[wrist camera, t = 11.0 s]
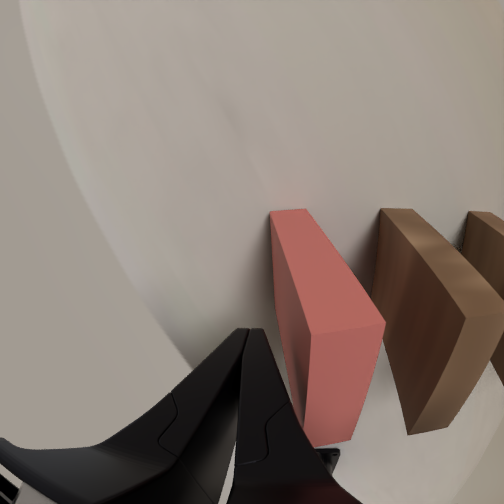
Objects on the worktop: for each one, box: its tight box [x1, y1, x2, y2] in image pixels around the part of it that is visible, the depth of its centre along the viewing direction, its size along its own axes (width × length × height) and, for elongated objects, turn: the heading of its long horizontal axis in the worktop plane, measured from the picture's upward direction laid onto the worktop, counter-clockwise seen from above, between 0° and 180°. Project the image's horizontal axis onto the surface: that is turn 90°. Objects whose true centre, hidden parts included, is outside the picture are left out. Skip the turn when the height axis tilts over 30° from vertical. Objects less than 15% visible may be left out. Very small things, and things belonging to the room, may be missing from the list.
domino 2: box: [371, 208, 504, 435], centre depth 10 cm, size 2×5×8 cm, turn 4°
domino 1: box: [270, 209, 386, 447], centre depth 10 cm, size 2×5×8 cm, turn 4°
